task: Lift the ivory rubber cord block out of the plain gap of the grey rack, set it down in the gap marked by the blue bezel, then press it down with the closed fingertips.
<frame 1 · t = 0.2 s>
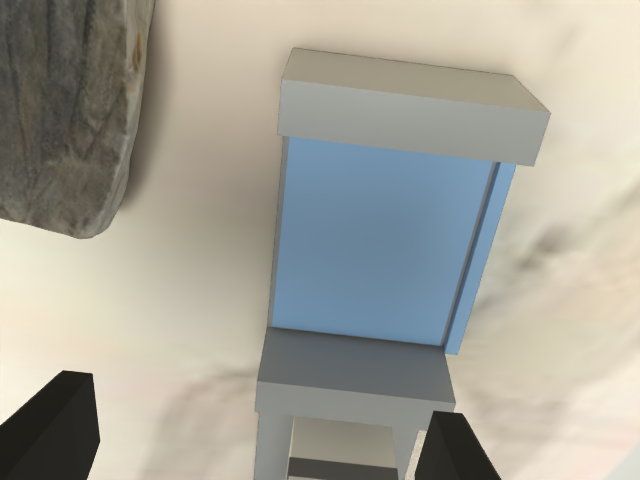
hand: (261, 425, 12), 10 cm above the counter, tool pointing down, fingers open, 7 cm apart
grey rack: (352, 338, 24), on the counter
cord block: (335, 440, 25), point 1 cm above the counter, touching grey rack
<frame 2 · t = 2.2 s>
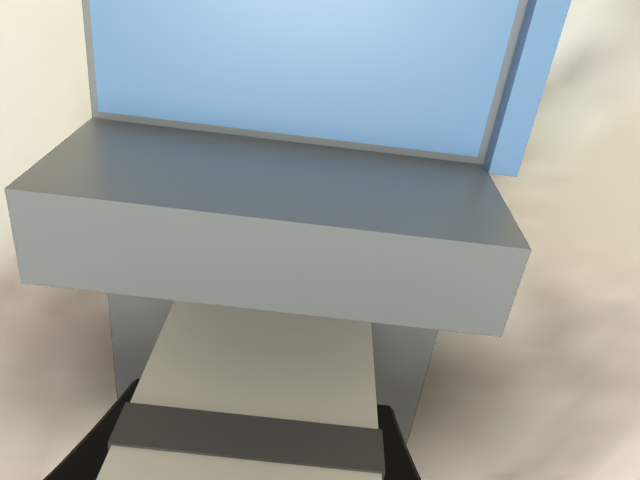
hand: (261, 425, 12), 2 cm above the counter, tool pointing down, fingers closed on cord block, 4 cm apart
grey rack: (289, 163, 11), on the counter
cord block: (267, 388, 13), point 1 cm above the counter, touching grey rack, gripper
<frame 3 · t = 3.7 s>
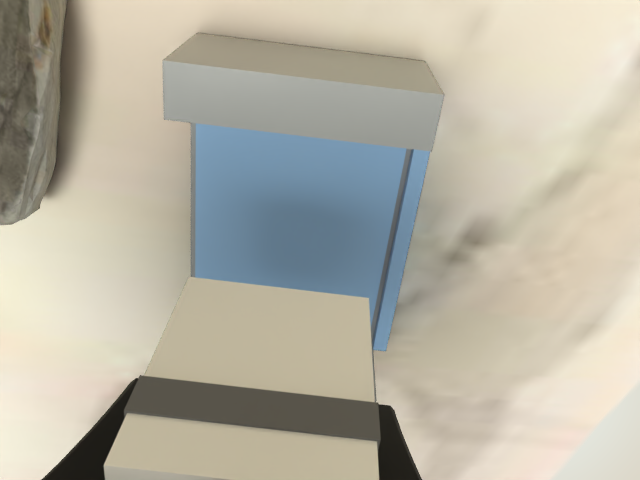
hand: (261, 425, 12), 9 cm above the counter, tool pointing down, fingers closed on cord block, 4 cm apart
grey rack: (282, 334, 23), on the counter
cord block: (271, 372, 14), point 8 cm above the counter, touching gripper
when the fingers open (3 cm above the counter, at t = 5.2 s): cord block stays where it is, resting on grey rack.
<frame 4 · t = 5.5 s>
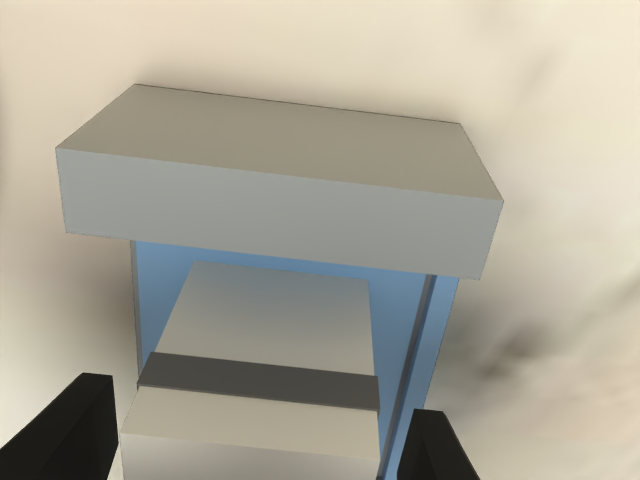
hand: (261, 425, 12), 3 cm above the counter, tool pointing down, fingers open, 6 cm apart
grey rack: (264, 458, 18), on the counter
cord block: (273, 353, 14), point 1 cm above the counter, touching grey rack
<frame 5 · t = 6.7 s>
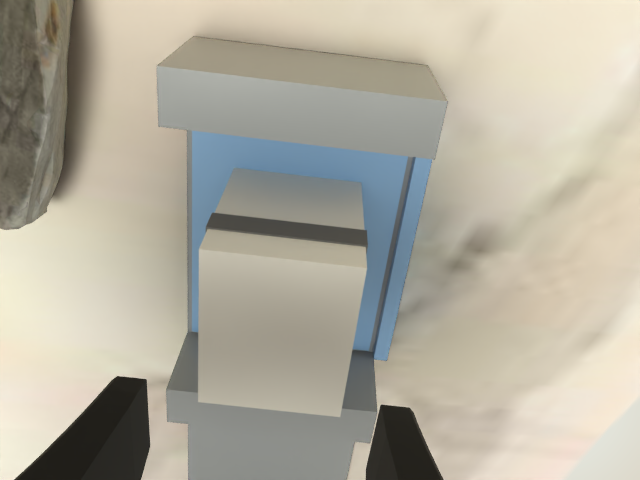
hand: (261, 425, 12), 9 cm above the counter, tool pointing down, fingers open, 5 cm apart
grey rack: (281, 343, 22), on the counter
cord block: (291, 243, 19), point 1 cm above the counter, touching grey rack
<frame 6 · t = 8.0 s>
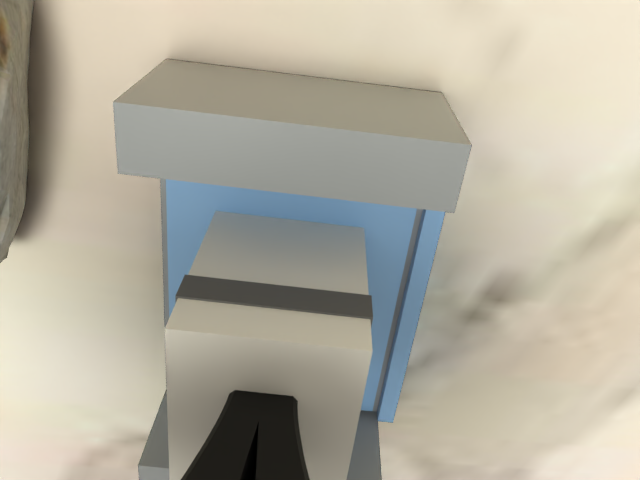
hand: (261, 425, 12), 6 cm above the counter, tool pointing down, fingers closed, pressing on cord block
grey rack: (273, 399, 20), on the counter
cord block: (282, 295, 16), point 1 cm above the counter, touching grey rack, gripper
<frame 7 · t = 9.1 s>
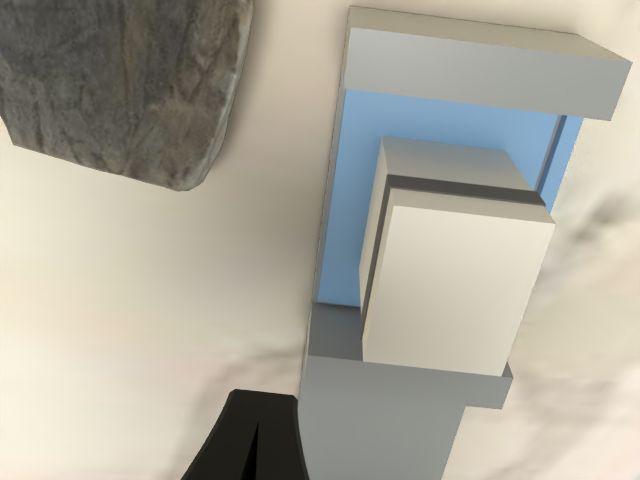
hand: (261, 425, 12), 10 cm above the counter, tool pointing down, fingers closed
grey rack: (397, 315, 23), on the counter
cord block: (427, 212, 19), point 1 cm above the counter, touching grey rack
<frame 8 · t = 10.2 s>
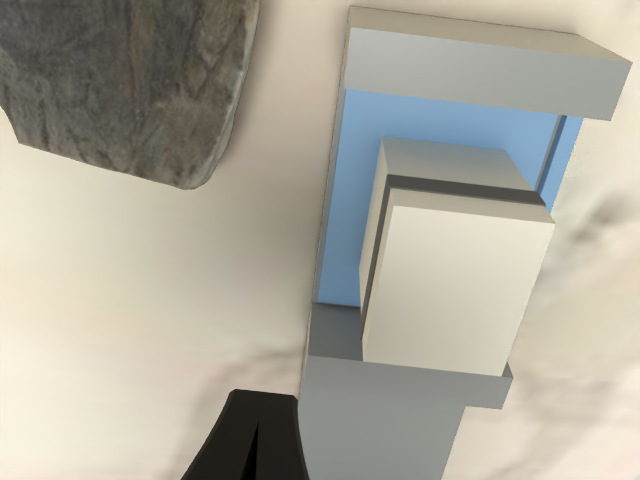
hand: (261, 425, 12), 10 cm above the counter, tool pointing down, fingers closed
grey rack: (397, 315, 23), on the counter
cord block: (427, 212, 19), point 1 cm above the counter, touching grey rack
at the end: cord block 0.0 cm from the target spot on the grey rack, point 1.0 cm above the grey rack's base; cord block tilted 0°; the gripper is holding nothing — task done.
